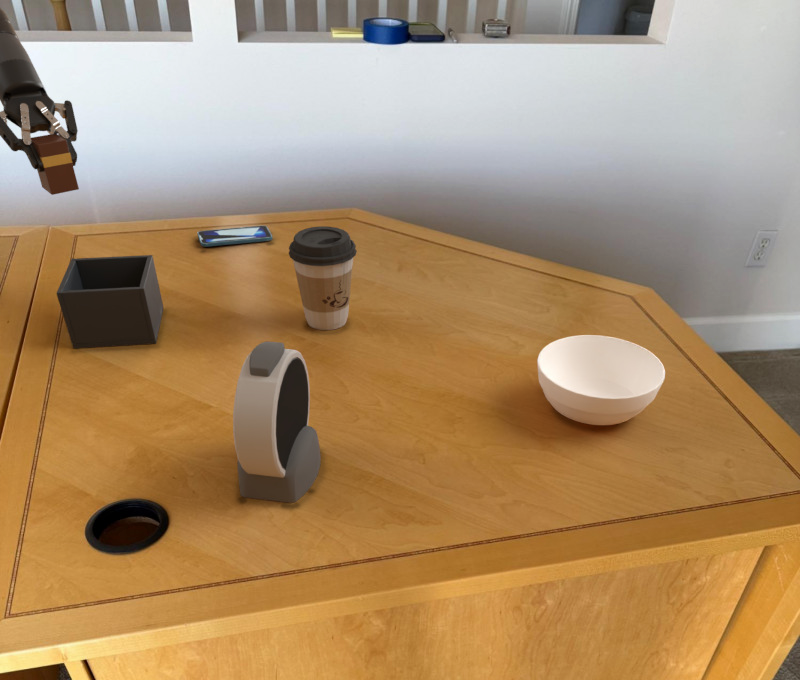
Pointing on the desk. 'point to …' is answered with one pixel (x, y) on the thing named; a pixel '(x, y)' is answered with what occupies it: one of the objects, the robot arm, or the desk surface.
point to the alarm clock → (274, 425)
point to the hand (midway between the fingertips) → (57, 165)
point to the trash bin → (111, 301)
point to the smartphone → (234, 235)
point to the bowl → (599, 378)
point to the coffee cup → (324, 274)
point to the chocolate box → (55, 164)
